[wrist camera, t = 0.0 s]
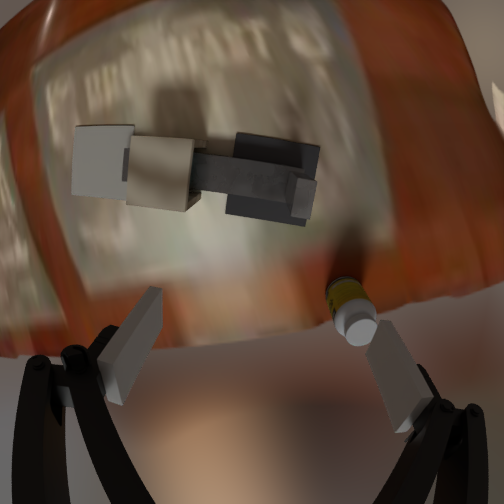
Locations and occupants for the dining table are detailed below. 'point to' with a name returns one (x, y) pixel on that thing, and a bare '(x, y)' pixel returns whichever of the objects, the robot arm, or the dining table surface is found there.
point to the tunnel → (161, 172)
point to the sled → (250, 180)
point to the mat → (100, 161)
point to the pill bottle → (351, 310)
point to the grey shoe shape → (271, 153)
